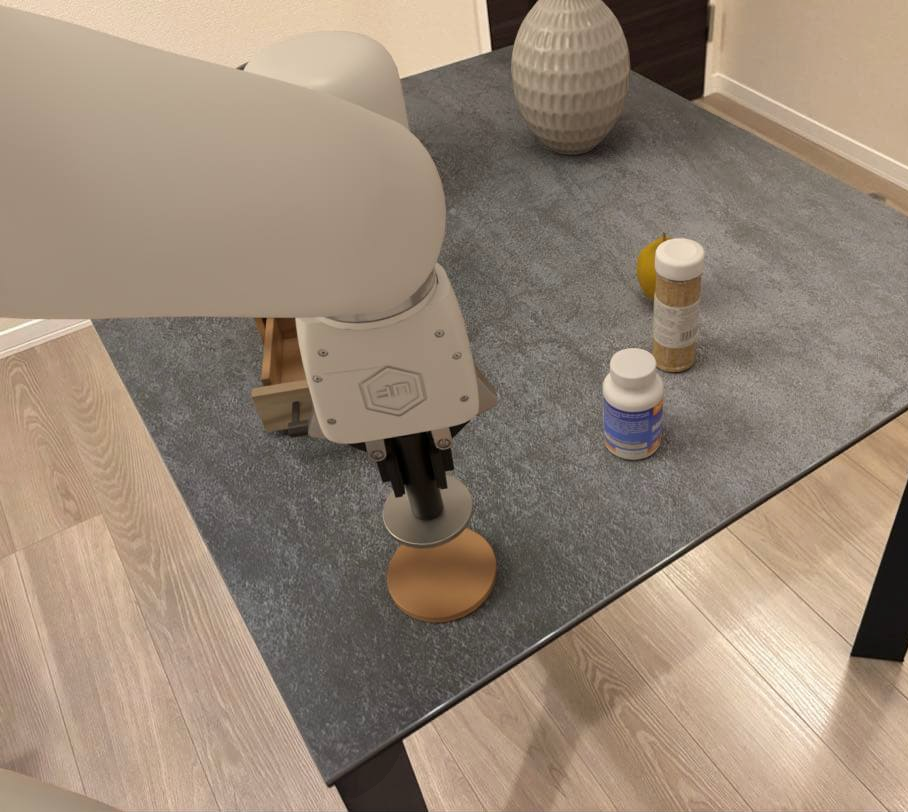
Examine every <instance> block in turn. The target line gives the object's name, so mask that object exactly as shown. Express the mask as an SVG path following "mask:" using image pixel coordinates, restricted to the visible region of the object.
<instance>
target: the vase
mask: <svg viewBox="0 0 908 812" xmlns="http://www.w3.org/2000/svg"><path fill="white" fill-rule="evenodd" d="M510 62H511V63H510V64H511V65H510V76H511V86H512V92H513V95H514V98H515V103H516V106H517V108H518V110H519V113H520V116H521V117H522V119H523V121H524V123H526V125H527V127H529V129H530V130H531V132H532V133H533V134H534V135H535V137H537V139H538V140H539V141H540V142H542V144H544V145H545V146H547V148H549V149H550V150H551V151H552V152H555V153H557V154H561V155H565V156H576V155H582V154H586V153H589V152H590V151H592V150H594V149H595V148H596V147H597V146H598V145H599V144H600V143H601V142H602V141H603V140H604V139H605V138H606V137H607V136H608V135H609V133H610V132H611V131H612V130H613V128H614V127H615V125H616V124H617V122H618V120H619V118H620V117H621V114H622V113H623V110H624V108H625V104H626V102H627V98H628V95H629V90H630V84H631V59H630V49H629V45H628V42H627V38H626V36H625V33H624V31H623V28H622V26H621V24H620V22H619V20H618V18H617V17H616V15H615V14H614V12H613V11H612V10H611V9H610V8H609V6H608V5H607V4H606V3H605V2H604V1H603V0H537V1H536V3H535V4H534V5H533V6H532V8H531V9H530V10H529V11H528V12H527V14H526V16H525V17H524V19H523V20H522V22H521V24H520V26H519V29H518V31H517V34H516V36H515V40H514V43H513V48H512V55H511V61H510Z"/></svg>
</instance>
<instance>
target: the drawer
mask: <svg viewBox="0 0 908 812" xmlns="http://www.w3.org/2000/svg"><path fill="white" fill-rule="evenodd" d="M261 367H262V368H261V379H260V380H261V382H262V385H263V386H259V387H252V388H251V400H252V402H253V404H254V407H255V409H256V411H257V414H258V416H259V419H260V421H261V423H262V426H263V428H264V430H265V432H266V433H270V432H277V431H283V430H287V431H288V436H289V437H290V438H291V439H294V438H299V437H304V436H309V434H308V419H309V415H310V411H311V408H312V404H313V401H312V397H311V394H310V390H309V386H308V383H307V379H306V375H305V371H304V366H303V362H302V358H301V353H300V348H299V343H298V336H297V329H296V318H267V320H266V331H265V343H264V345H263V353H262V366H261Z"/></svg>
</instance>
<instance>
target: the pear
mask: <svg viewBox="0 0 908 812" xmlns="http://www.w3.org/2000/svg"><path fill="white" fill-rule="evenodd" d="M666 236H667V234H666V232H665V231H663V232H662V237H659V238H656V239H655V240H653V241H652V242H650V243H648V244H647V245H645V246H644V247H643V248H642V249H641V250H640V252H639V254H638V256H637V259H636V278H637V282H638V284H639V287H640V289H641V291H642V292H643V293H644V294H645V295H646V297H647V298H648V299H649V300H650V301H652V302H654V295H655V289H656V269H655V253H656V249H657V247H658V246H659V245H660V244H661V243H663V242H665V241H667V240H670V239H674V238H673V237H666Z"/></svg>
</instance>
